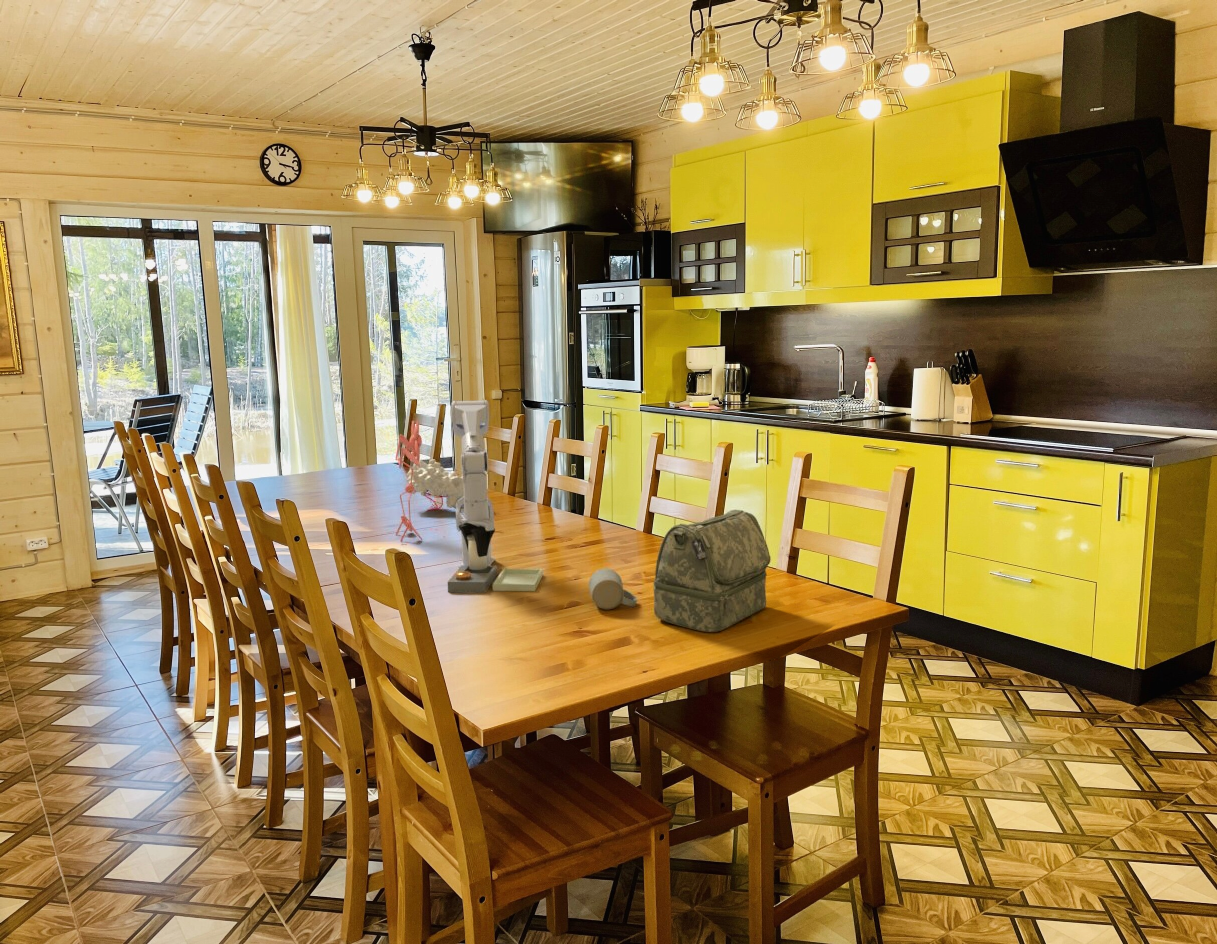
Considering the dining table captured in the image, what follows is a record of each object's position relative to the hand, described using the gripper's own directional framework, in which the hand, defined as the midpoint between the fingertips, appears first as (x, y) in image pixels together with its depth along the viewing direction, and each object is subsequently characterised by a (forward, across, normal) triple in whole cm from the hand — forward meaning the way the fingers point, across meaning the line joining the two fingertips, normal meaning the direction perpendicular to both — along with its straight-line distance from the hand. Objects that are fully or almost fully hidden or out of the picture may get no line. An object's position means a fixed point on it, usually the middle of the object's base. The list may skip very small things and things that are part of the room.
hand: (477, 554), depth 223 cm
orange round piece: (+6, +4, -6) cm, 10 cm away
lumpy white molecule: (+7, -86, +32) cm, 92 cm away
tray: (+6, +9, +6) cm, 13 cm away
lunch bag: (+7, +56, +26) cm, 63 cm away
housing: (+6, +2, -3) cm, 7 cm away
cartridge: (+3, 0, 0) cm, 3 cm away
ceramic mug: (+7, +38, +14) cm, 41 cm away
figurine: (+7, -54, +9) cm, 55 cm away
